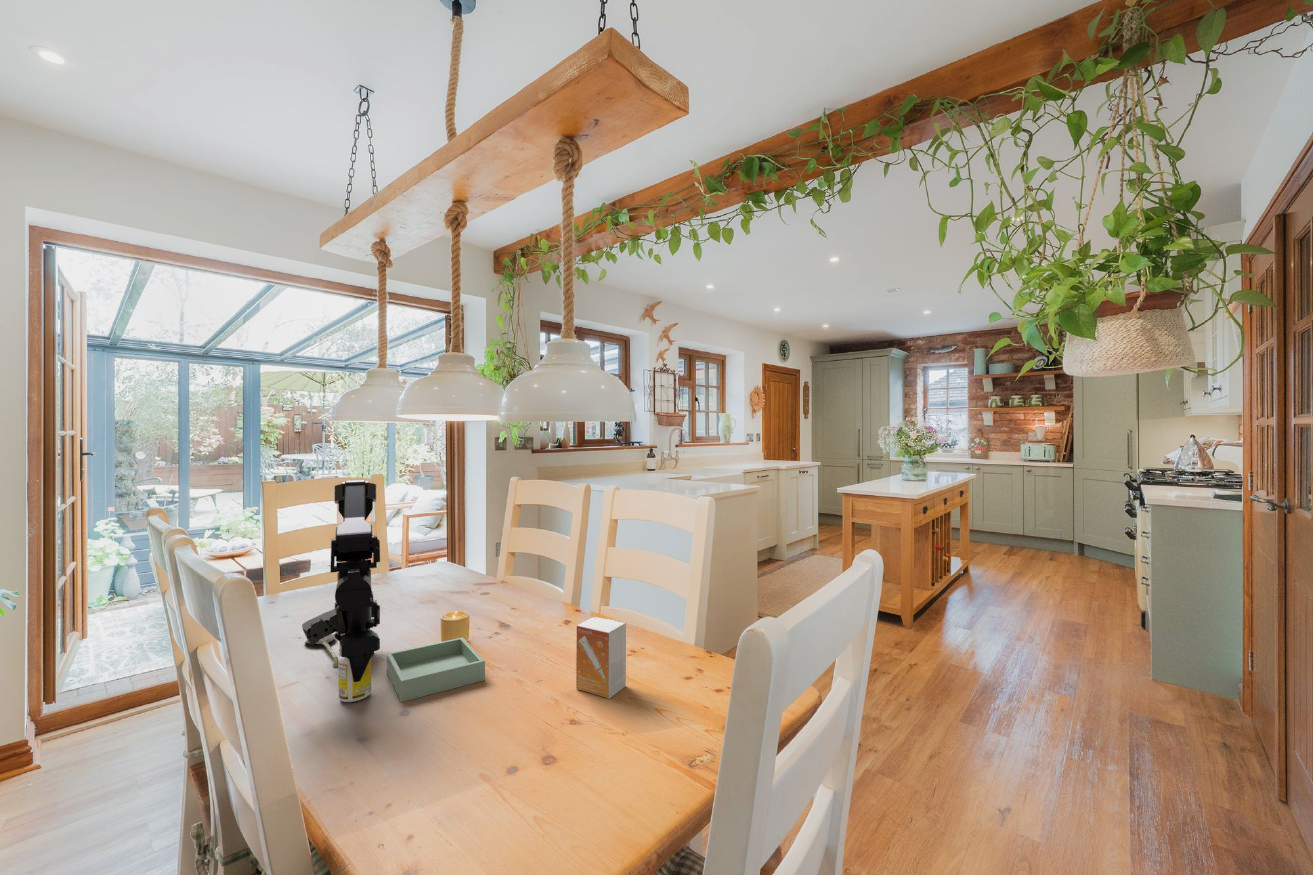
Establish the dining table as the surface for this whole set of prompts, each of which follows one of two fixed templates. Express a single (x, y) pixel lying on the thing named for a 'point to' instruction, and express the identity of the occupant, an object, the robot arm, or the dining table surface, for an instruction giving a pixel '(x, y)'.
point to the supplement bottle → (352, 682)
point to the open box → (434, 668)
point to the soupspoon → (328, 647)
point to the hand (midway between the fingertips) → (355, 675)
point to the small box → (601, 656)
